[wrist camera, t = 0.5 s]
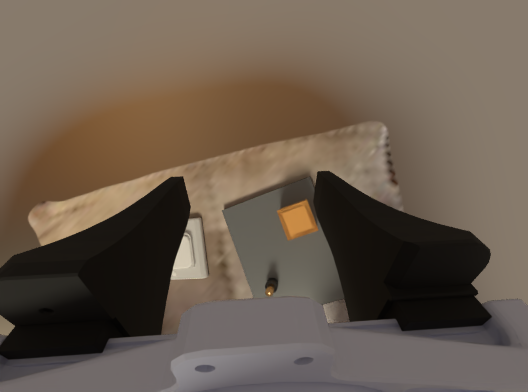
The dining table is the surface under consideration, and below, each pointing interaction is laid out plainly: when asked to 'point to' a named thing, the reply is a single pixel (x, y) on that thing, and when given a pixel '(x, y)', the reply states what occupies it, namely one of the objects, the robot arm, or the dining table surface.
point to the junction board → (283, 247)
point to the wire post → (271, 286)
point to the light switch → (191, 253)
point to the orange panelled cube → (297, 220)
